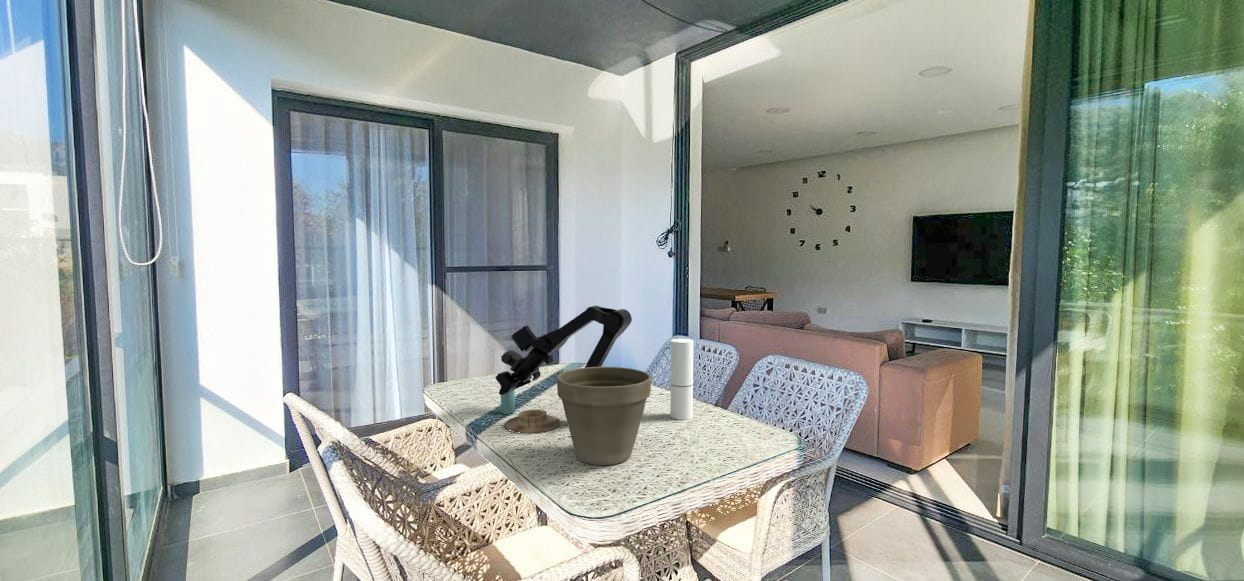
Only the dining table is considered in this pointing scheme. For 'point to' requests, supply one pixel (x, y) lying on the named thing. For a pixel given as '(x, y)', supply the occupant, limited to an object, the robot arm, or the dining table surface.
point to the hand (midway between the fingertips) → (504, 392)
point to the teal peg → (508, 402)
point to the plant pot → (603, 411)
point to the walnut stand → (532, 422)
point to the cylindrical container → (681, 379)
